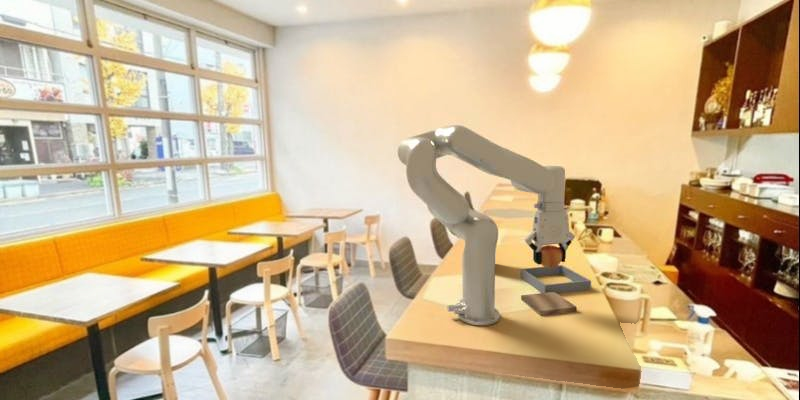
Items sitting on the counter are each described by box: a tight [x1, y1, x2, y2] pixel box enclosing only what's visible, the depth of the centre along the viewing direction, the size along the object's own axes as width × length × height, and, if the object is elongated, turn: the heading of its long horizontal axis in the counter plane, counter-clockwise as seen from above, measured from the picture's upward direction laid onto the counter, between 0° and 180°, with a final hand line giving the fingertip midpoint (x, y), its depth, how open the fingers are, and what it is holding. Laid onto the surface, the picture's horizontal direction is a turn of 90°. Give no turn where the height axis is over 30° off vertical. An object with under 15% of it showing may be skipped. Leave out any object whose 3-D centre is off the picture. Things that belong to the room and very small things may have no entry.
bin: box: [520, 264, 592, 295], centre depth 138 cm, size 17×17×4 cm
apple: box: [540, 244, 562, 269], centre depth 119 cm, size 7×7×8 cm
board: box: [520, 292, 577, 317], centre depth 121 cm, size 12×12×2 cm
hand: (549, 261), depth 119 cm, fingers closed on apple, 7 cm apart
